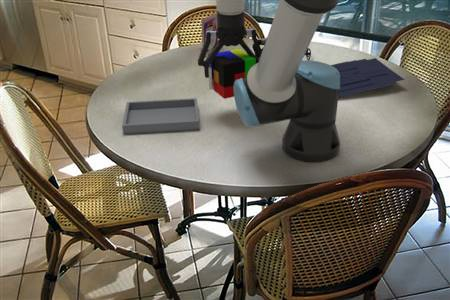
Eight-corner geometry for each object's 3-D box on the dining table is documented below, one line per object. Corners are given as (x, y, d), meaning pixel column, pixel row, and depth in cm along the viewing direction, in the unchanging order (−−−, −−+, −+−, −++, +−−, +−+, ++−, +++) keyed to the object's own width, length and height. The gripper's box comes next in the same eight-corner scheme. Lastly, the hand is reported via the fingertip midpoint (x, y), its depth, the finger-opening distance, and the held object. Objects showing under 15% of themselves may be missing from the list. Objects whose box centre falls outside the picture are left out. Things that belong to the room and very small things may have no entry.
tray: (199, 130, 139) (198, 121, 138) (123, 134, 138) (122, 125, 137) (197, 106, 153) (196, 98, 151) (128, 110, 151) (126, 101, 150)
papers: (407, 89, 158) (408, 79, 156) (320, 109, 155) (319, 99, 153) (372, 63, 179) (373, 53, 177) (295, 80, 176) (294, 71, 174)
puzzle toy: (209, 86, 144) (208, 54, 139) (239, 80, 148) (239, 48, 143) (224, 98, 136) (223, 64, 131) (255, 91, 140) (255, 58, 135)
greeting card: (205, 57, 190) (203, 19, 183) (189, 54, 194) (187, 17, 186) (220, 49, 199) (219, 12, 191) (205, 46, 202) (203, 10, 194)
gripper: (272, 6, 135) (270, 79, 145) (185, 10, 133) (190, 83, 144) (277, 12, 128) (275, 88, 139) (186, 17, 127) (191, 93, 137)
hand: (232, 86), depth 141 cm, fingers closed on puzzle toy, 12 cm apart
